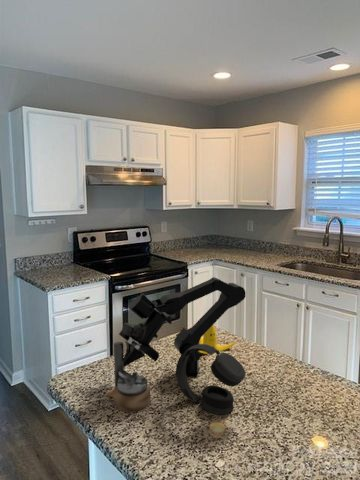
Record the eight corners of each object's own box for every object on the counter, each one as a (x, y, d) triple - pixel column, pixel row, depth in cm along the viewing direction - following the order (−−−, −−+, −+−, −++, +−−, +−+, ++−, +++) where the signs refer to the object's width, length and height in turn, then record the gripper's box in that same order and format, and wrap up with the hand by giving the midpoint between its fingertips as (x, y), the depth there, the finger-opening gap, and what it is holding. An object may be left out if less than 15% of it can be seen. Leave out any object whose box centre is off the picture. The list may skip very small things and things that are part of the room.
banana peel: (236, 349, 151) (237, 310, 149) (196, 358, 143) (196, 317, 141) (216, 336, 166) (216, 300, 164) (178, 343, 158) (178, 306, 156)
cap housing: (154, 394, 117) (154, 382, 116) (144, 413, 106) (144, 400, 105) (111, 389, 120) (111, 377, 119) (97, 408, 109) (97, 395, 108)
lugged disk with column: (153, 399, 112) (152, 352, 110) (127, 410, 106) (126, 360, 104) (129, 381, 122) (128, 339, 121) (105, 390, 117) (103, 345, 115)
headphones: (252, 362, 107) (195, 330, 115) (242, 374, 99) (182, 339, 108) (234, 412, 111) (180, 377, 120) (223, 426, 104) (167, 389, 113)
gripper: (123, 306, 128) (94, 344, 123) (150, 322, 112) (118, 365, 108) (143, 323, 133) (116, 360, 128) (171, 340, 118) (142, 382, 113)
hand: (122, 366), depth 119 cm, fingers closed, pressing on lugged disk with column
